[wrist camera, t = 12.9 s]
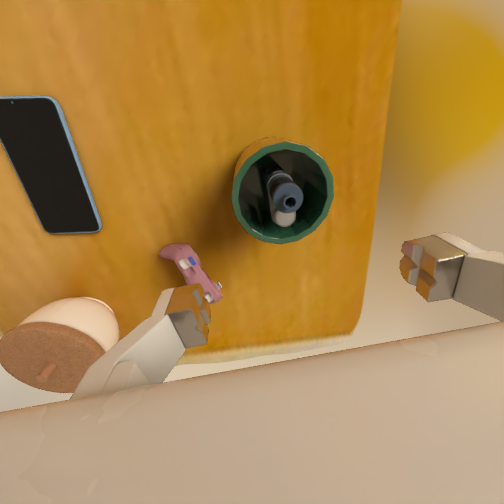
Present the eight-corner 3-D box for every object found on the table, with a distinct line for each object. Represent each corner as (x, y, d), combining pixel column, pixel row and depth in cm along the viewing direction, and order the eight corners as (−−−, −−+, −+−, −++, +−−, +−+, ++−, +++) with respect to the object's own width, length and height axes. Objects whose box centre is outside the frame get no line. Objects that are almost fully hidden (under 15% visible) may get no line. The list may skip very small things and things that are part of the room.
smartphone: (45, 235, 31) (-24, 97, 23) (49, 232, 31) (-15, 97, 24) (103, 232, 31) (53, 94, 23) (106, 230, 31) (58, 95, 24)
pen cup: (225, 146, 27) (220, 156, 20) (304, 129, 27) (331, 131, 19) (243, 220, 32) (244, 251, 24) (310, 205, 31) (335, 233, 23)
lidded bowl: (58, 338, 40) (1, 406, 31) (38, 278, 35) (-40, 338, 25) (135, 343, 42) (103, 409, 32) (128, 286, 36) (88, 346, 26)
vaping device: (280, 160, 27) (307, 182, 17) (285, 203, 30) (310, 246, 19) (259, 164, 28) (271, 189, 17) (265, 207, 30) (279, 252, 19)
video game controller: (216, 282, 38) (233, 300, 32) (192, 299, 37) (205, 322, 31) (183, 231, 34) (196, 242, 28) (155, 249, 33) (161, 264, 27)
